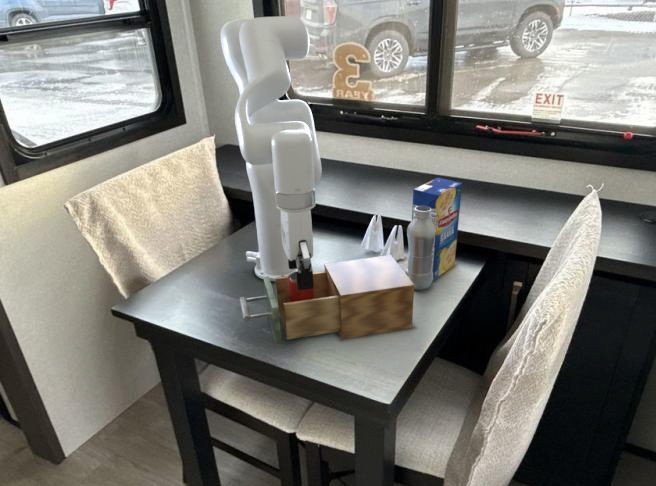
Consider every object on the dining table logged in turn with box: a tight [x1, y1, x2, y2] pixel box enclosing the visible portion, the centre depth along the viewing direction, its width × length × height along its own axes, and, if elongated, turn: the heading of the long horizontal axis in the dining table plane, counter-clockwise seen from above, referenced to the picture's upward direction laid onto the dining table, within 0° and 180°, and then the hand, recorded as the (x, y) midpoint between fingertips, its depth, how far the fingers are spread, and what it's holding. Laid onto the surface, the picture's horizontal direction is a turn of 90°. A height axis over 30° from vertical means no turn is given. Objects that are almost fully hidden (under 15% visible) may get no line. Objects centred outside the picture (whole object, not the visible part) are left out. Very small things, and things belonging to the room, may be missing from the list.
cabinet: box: [323, 255, 415, 340], centre depth 120 cm, size 16×15×11 cm
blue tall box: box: [411, 177, 463, 281], centre depth 135 cm, size 7×11×22 cm, turn 140°
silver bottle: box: [405, 206, 436, 291], centre depth 128 cm, size 6×7×20 cm
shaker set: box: [360, 214, 405, 262], centre depth 146 cm, size 12×4×11 cm, turn 51°
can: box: [288, 272, 314, 302], centre depth 116 cm, size 5×5×10 cm
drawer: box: [239, 270, 341, 345], centre depth 116 cm, size 20×13×9 cm, turn 104°
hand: (300, 278), depth 113 cm, fingers open, 9 cm apart
